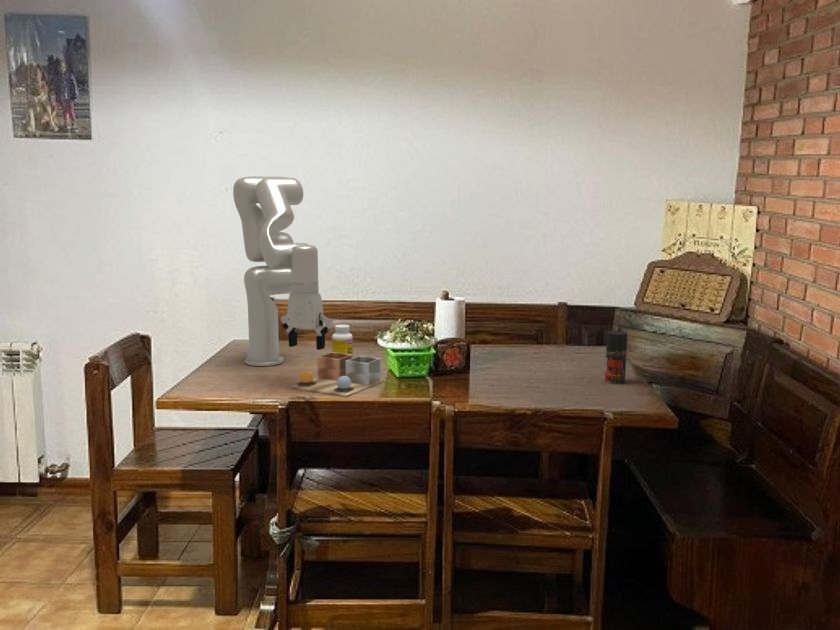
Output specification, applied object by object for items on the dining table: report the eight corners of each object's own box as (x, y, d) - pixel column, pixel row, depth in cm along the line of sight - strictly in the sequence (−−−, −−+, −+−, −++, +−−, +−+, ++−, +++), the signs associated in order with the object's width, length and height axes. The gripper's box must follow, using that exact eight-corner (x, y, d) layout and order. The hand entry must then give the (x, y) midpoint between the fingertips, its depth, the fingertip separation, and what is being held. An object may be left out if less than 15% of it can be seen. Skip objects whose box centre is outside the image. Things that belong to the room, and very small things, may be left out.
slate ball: (334, 390, 230) (334, 376, 229) (342, 387, 234) (341, 373, 233) (346, 392, 228) (346, 378, 228) (353, 388, 232) (353, 375, 231)
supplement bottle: (349, 367, 260) (349, 328, 258) (329, 366, 262) (329, 327, 259) (355, 362, 267) (355, 324, 265) (335, 361, 268) (335, 323, 266)
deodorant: (600, 379, 247) (603, 331, 245) (617, 378, 250) (619, 330, 247) (612, 384, 242) (614, 335, 239) (629, 382, 244) (631, 333, 242)
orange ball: (296, 384, 236) (296, 371, 235) (305, 381, 240) (304, 368, 239) (308, 386, 234) (307, 372, 234) (316, 383, 238) (316, 369, 237)
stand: (291, 388, 235) (290, 364, 234) (330, 373, 252) (330, 351, 251) (346, 397, 226) (346, 372, 225) (383, 381, 243) (383, 358, 242)
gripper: (272, 288, 233) (274, 347, 235) (322, 291, 225) (324, 352, 227) (288, 285, 239) (290, 342, 242) (337, 288, 231) (339, 348, 234)
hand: (306, 347), depth 235 cm, fingers open, 9 cm apart
